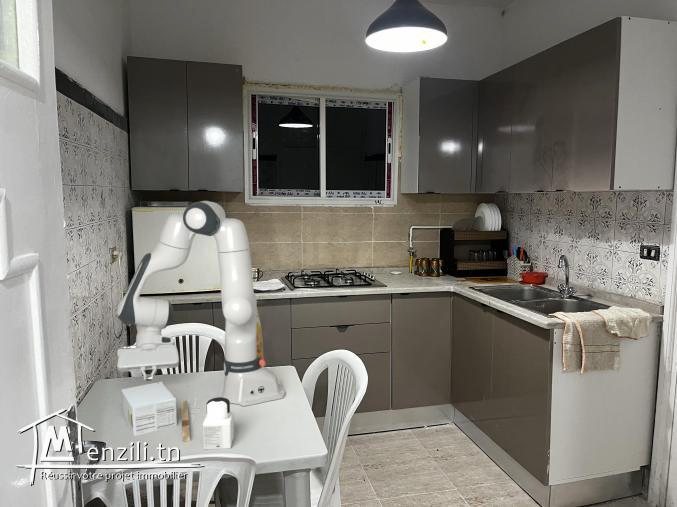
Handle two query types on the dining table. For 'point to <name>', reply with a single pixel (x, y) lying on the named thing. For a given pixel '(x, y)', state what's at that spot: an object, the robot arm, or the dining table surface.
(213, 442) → the container
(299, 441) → the dining table surface
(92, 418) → the dining table surface
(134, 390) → the supplement box
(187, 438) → the guide rail
